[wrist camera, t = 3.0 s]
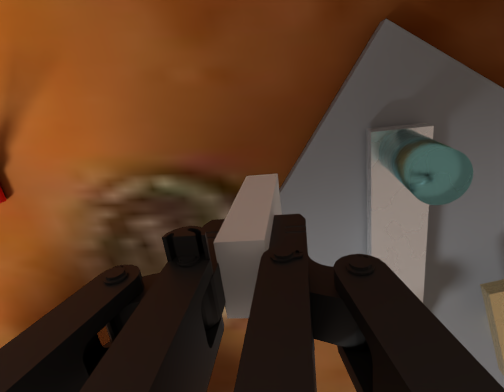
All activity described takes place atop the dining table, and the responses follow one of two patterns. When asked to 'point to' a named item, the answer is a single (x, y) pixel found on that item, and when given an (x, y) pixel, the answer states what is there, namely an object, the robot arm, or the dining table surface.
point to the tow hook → (2, 196)
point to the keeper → (495, 316)
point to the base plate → (440, 216)
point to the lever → (408, 194)
